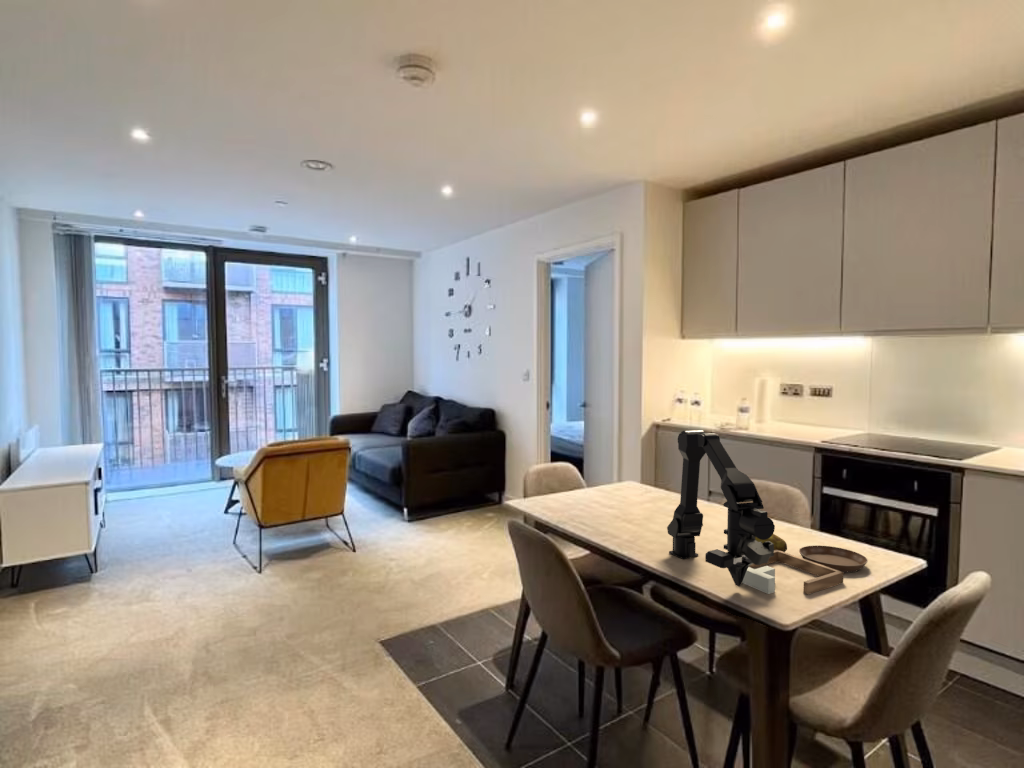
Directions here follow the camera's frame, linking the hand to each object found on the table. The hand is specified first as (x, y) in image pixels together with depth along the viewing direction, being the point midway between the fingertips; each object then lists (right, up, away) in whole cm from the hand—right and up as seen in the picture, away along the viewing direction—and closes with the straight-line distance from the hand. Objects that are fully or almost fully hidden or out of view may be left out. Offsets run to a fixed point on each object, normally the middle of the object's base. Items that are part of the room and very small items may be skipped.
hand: (738, 585), depth 150 cm
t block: (+8, -1, +4) cm, 9 cm away
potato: (+20, 0, +30) cm, 36 cm away
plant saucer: (+36, -1, +19) cm, 40 cm away
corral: (+18, -1, +10) cm, 21 cm away
